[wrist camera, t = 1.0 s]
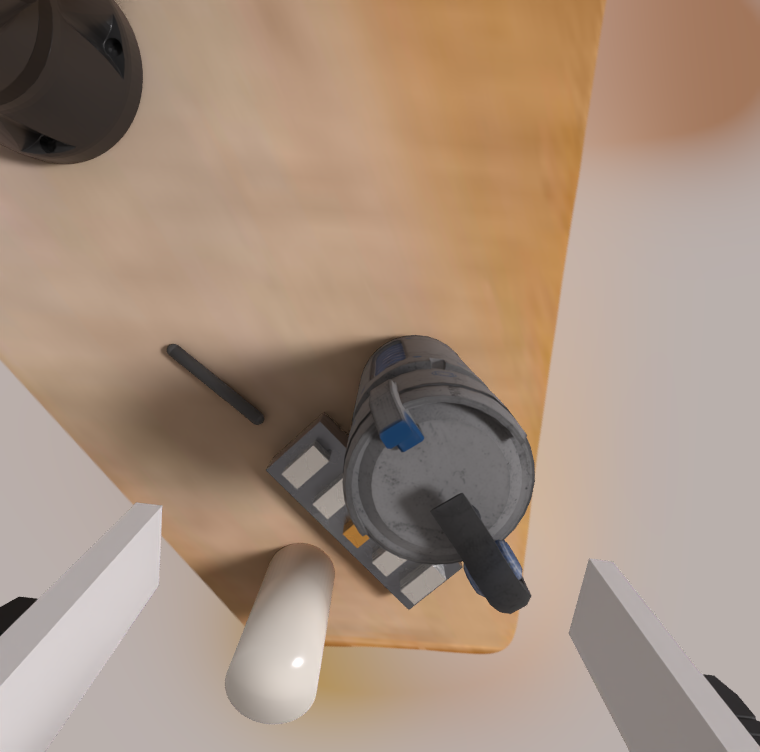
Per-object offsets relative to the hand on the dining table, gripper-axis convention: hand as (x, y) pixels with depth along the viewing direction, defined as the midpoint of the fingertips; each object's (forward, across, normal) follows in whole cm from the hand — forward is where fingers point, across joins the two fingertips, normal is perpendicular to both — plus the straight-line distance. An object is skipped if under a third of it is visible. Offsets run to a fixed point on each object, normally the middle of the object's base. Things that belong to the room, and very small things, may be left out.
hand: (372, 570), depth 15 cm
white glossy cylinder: (+31, -5, -23) cm, 39 cm away
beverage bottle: (+32, +4, -2) cm, 32 cm away
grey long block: (+32, +1, -15) cm, 35 cm away
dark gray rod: (+31, -15, -4) cm, 35 cm away
